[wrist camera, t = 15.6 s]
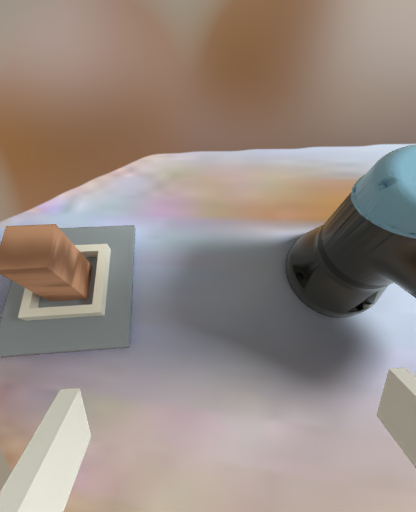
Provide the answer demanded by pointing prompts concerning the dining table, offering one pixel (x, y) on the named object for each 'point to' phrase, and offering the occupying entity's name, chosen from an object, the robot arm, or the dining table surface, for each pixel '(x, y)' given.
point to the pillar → (45, 262)
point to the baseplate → (77, 301)
